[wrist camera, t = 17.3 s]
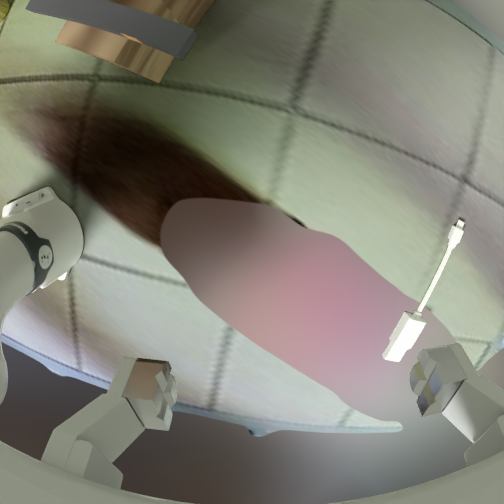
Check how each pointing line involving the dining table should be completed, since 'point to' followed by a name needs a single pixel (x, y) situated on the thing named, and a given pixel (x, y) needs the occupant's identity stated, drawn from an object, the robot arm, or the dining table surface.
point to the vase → (4, 9)
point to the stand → (126, 50)
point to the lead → (122, 23)
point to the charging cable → (414, 322)
